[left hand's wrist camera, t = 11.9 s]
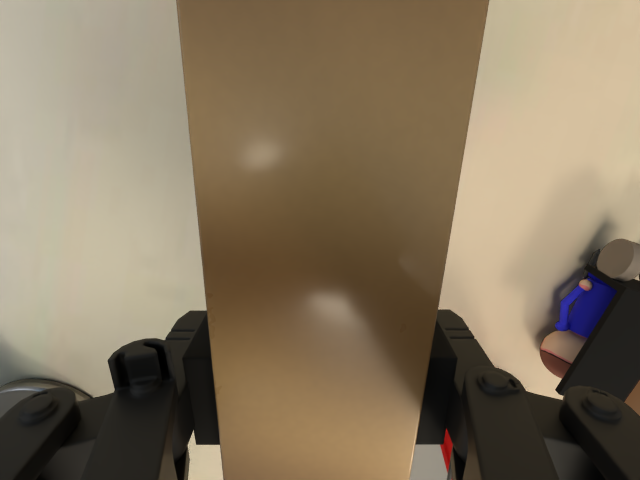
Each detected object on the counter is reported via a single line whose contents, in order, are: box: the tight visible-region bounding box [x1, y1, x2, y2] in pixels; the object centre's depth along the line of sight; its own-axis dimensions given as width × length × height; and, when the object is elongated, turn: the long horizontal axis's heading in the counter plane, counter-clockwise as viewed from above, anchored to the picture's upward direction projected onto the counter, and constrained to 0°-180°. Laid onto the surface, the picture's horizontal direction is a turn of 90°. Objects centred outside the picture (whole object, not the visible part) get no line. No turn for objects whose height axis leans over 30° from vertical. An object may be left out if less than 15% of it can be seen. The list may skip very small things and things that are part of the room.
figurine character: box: [540, 239, 640, 402], centre depth 34 cm, size 7×8×15 cm
